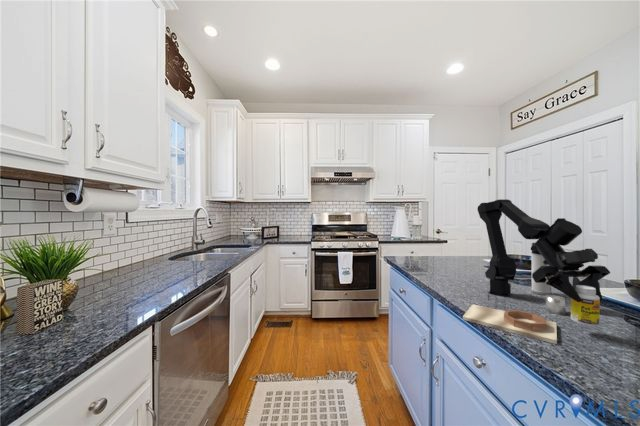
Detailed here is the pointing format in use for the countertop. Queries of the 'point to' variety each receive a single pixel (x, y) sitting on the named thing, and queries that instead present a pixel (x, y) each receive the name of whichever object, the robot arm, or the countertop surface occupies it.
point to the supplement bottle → (586, 306)
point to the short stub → (555, 304)
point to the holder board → (500, 324)
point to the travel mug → (536, 263)
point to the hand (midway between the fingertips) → (590, 301)
